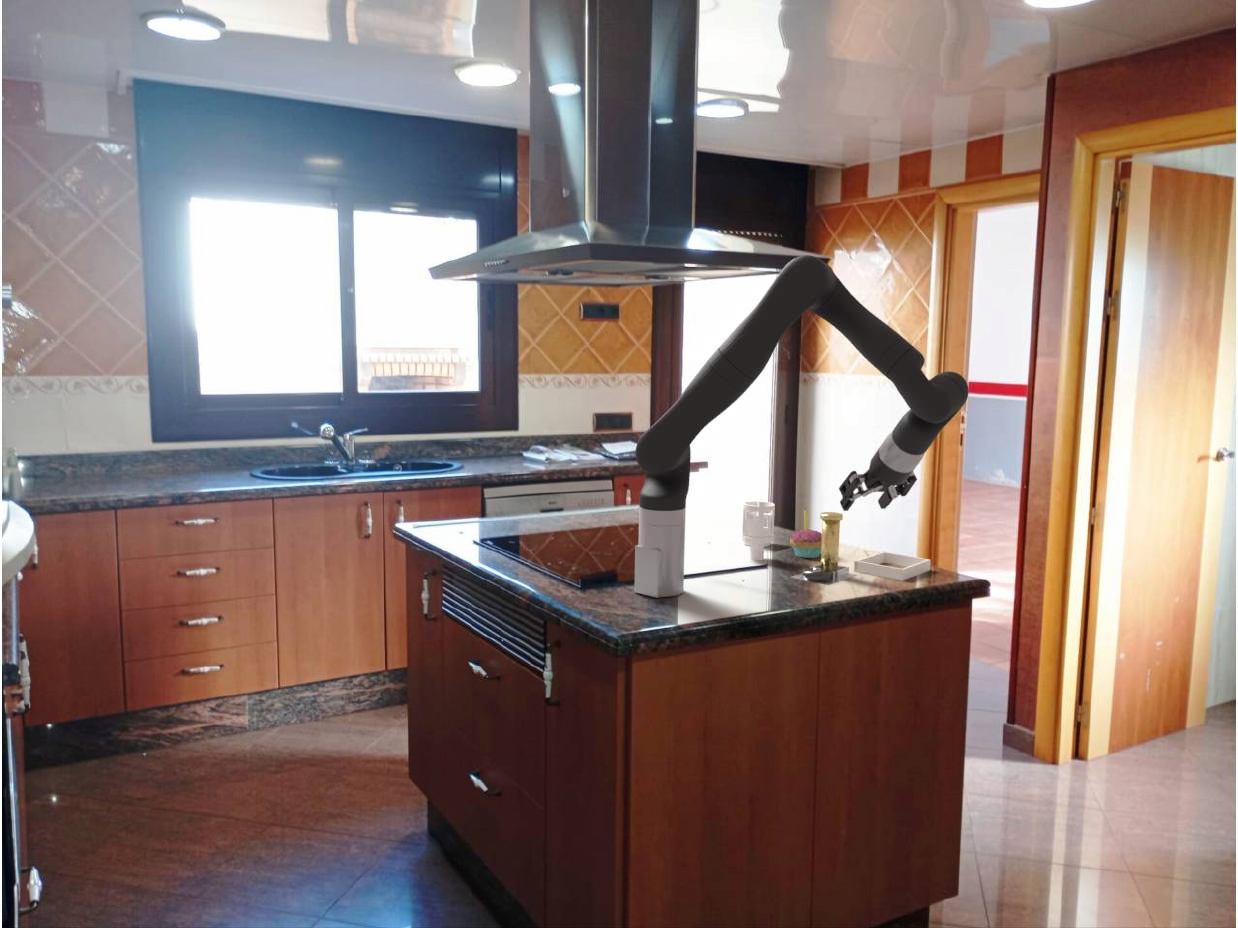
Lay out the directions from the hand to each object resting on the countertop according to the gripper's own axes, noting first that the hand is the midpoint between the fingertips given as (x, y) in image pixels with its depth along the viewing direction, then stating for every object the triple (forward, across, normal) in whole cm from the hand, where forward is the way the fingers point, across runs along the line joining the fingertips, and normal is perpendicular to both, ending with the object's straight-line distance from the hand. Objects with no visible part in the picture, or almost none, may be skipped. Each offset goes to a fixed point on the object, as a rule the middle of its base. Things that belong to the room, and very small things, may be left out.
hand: (862, 506), depth 196 cm
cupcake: (+33, -5, -8) cm, 35 cm away
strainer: (+33, +9, -8) cm, 35 cm away
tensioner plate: (+20, +2, +5) cm, 21 cm away
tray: (+20, -15, +5) cm, 26 cm away
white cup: (+46, -1, -21) cm, 51 cm away
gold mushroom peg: (+20, 0, +4) cm, 20 cm away
